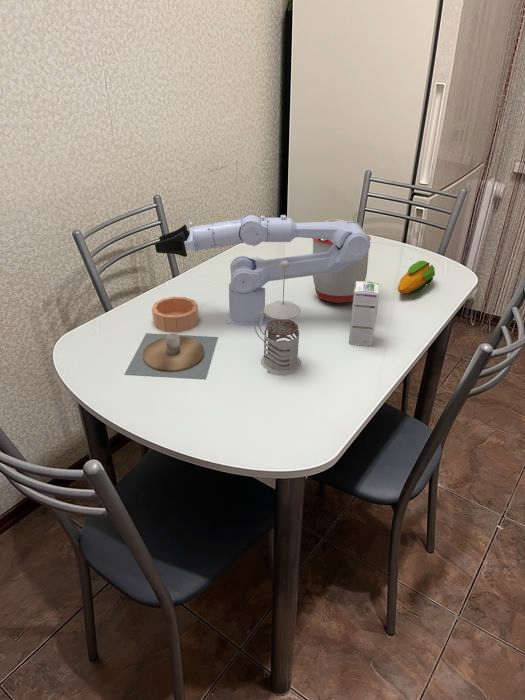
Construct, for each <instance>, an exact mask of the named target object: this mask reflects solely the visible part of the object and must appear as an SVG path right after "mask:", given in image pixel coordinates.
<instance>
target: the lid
mask: <svg viewBox="0 0 525 700" xmlns="http://www.w3.org/2000/svg"><path fill="white" fill-rule="evenodd" d="M168 334H169V335H167V336H166V338H162V339H159V340H156V341H154V342H152V343H151V344H149V345H148V346H147V347H146V348H145V349H144V351H143V360H144V362H145V363H146V364H147V365H148V366H149V367H151V368H152V369H155V370H158V371H164V372H176V371H182V370H186V369H189V368H192V367H194V366H195V365H197V364H198V363H200V362H201V361H202V359H203V357H204V348H203V346H202V344H201V343H199V342H198V341H196V340H194V339H192V338H188V337H181V336H179V335H180V334H177V333H168Z"/></svg>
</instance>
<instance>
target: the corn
mask: <svg viewBox="0 0 525 700" xmlns="http://www.w3.org/2000/svg"><path fill="white" fill-rule="evenodd" d="M434 276H436V272H435V267H434V265H433V264H430V262H428V261H425V260H418V261H417V262H415V263H413V264H412V265H411V266H410V267H408V270H407V272H406V273H405V274H403V276H402V277H401V278H400V281H399V284H398V286H397V289H396V290H397V291H398V292H399V294H408V293H411V292H413V291H415V290H418V289H420V288H421V287H422V288H423V287H424V286H425V284H427V285H426V286H425V287H424V288H423V289H422V288H421V289H422V290H421V289H420V290H419V291H418V292H415V293H414V294H413V295H412V297H415V296H416V295H418V294H420V293H421V292H422V291H424V290H425V289H427V288H428V287H429V286H430V284H431V283H432V281H433V279H434ZM423 285H424V286H423Z"/></svg>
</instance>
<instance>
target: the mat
mask: <svg viewBox="0 0 525 700" xmlns="http://www.w3.org/2000/svg"><path fill="white" fill-rule="evenodd" d="M169 334H170V333H168V334H167V333H166V334H165V333H150V332H149V333H148V332H146V333H145V334H144V336H143V339H142V341H141V342H140V343H139V346H138V348H137V350H136V352H135V353H134V355H133V358H132V359H131V361H130V363H129V365H128V367H127V369H126V371H125V372H124V375H125V376H138V377H155V378H171V379H172V378H173V379H187V380H188V379H191V380H204V381H205V380H207V377H208V373H209V370H210V367H211V363H212V360H213V357H214V353H215V350H216V346H217V343H218V339H219V336H206V335H205V336H203V335H189V334H188V335H187V334H185V335H183V334H178V335H179V336H181V337H188V338H192V339H194V340H196V341H198V342H199V343H201V344H202V346H203V348H204V357H203V359H202V361H201V362H200V363H198V364H197V365H195V366H194V367H192V368H189V369H186V370H182V371H176V372H164V371H158V370H155V369H152V368H151V367H149V366H148V365H147V364H146V363H145V362H144V360H143V351H144V349H145V348H146V347H147V346H148V345H149V344H151V343H152V342H154V341H156V340H159V339H162V338H166V336H167V335H169Z"/></svg>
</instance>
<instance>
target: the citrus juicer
mask: <svg viewBox="0 0 525 700" xmlns="http://www.w3.org/2000/svg"><path fill="white" fill-rule="evenodd" d="M366 235H367V236H368V238H369V239H370V240H371V236H370V235H368V234H366ZM311 239H312V254H315V253H323V252H327V251H328V250H329V249H330V247H331V246H332V245H333V242H331V241H330V240H328V239H327V240H323V239H318V238H311ZM369 251H370V250H369ZM369 251H368V252H367V254H366V255H365V256H364V258H363V259H362V260H360V261H355V262H354V263H352V264H350V265H349V266H347V267H346V268H344V269H342V270H341V271H339V272H335V273H327V274H319V275H312V279H313V284H314V290H315V293H316V294H317V296H318V298H319V299H321V300H323V301H327V302H330V303H331V302H332V303H334V304H339V303H346V302H353V297H354V288H355V284H356V281H363V282H366V279H367V275H368V267H369V265H368V264H369V263H368V262H369Z"/></svg>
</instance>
